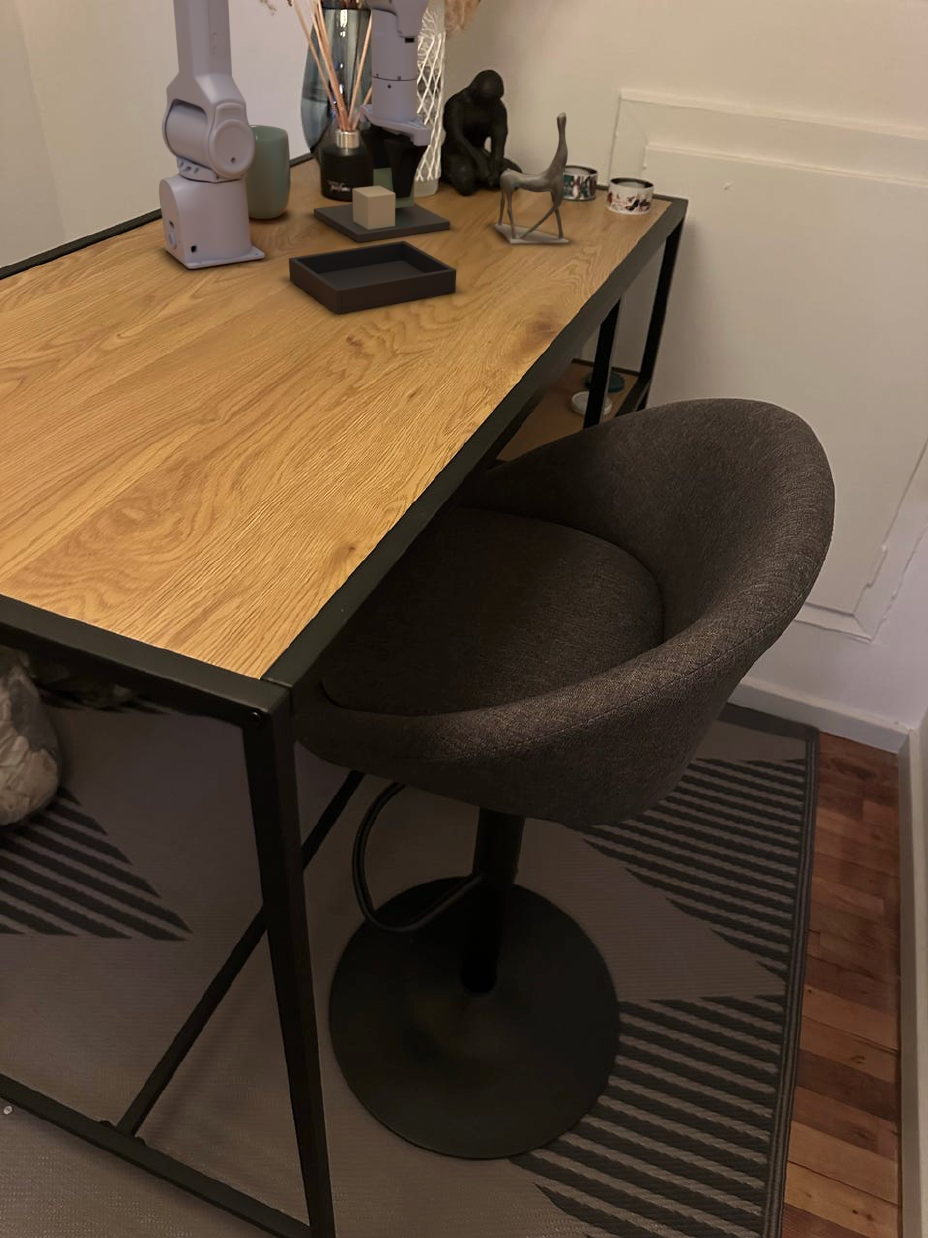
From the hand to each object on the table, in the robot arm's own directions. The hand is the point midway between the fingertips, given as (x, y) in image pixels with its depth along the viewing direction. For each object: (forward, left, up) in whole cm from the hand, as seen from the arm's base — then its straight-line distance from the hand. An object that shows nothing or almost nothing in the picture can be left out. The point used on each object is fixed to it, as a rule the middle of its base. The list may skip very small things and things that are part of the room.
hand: (393, 192), depth 122 cm
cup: (-16, +7, -3) cm, 18 cm away
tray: (-16, -22, -3) cm, 27 cm away
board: (-3, -2, -3) cm, 5 cm away
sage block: (0, 0, -1) cm, 1 cm away
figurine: (+11, -15, -3) cm, 19 cm away
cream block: (-6, -5, -2) cm, 8 cm away
